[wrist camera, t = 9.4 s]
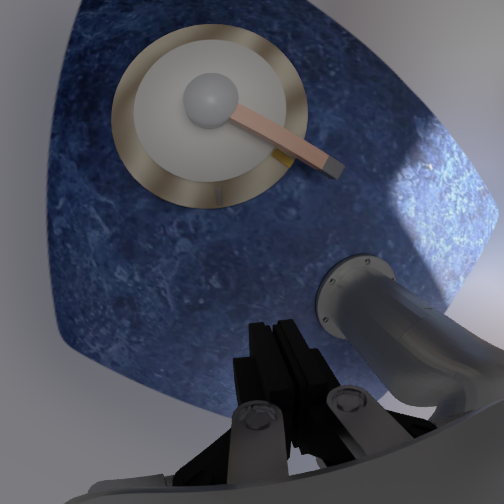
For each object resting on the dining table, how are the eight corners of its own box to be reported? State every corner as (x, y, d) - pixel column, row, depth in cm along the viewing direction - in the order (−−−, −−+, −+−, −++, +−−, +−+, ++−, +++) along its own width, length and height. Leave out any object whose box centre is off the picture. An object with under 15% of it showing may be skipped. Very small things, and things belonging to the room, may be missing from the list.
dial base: (336, 96, 33) (342, 93, 31) (235, 242, 36) (237, 246, 34) (189, 3, 27) (188, -4, 25) (81, 146, 30) (75, 145, 28)
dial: (111, 144, 29) (95, 140, 24) (183, 25, 26) (180, 3, 21) (290, 232, 35) (305, 243, 30) (351, 115, 32) (375, 109, 27)
